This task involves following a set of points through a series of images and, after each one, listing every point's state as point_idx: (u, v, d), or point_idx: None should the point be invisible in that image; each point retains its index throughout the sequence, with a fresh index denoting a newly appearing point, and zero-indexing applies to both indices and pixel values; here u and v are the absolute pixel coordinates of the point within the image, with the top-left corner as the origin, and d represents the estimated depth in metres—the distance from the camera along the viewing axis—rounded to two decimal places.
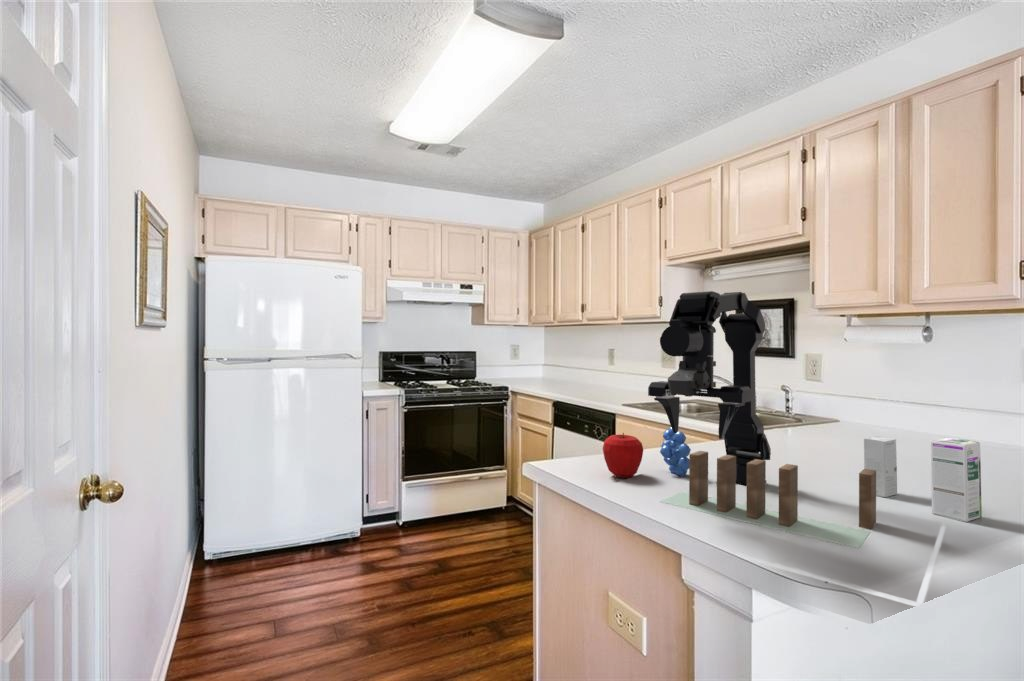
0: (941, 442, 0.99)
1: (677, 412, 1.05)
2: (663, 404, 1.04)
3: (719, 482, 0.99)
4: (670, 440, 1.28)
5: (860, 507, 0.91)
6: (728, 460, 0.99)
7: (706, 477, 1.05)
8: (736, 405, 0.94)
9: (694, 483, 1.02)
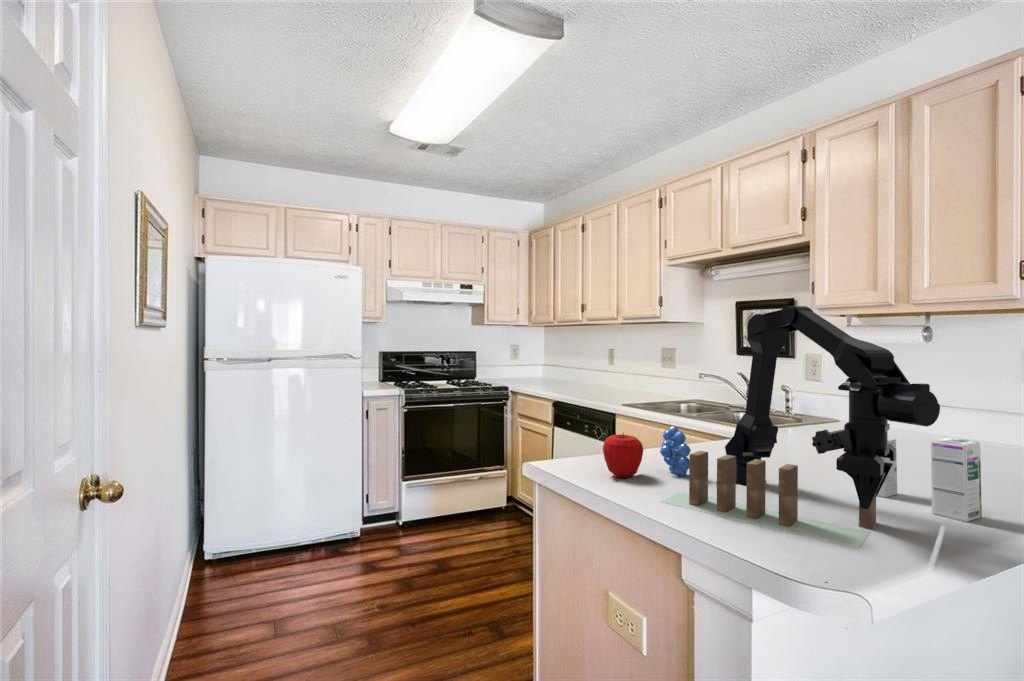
0: (941, 442, 0.99)
1: None
2: None
3: (719, 482, 0.99)
4: (670, 440, 1.28)
5: (860, 507, 0.91)
6: (728, 460, 0.99)
7: (706, 477, 1.05)
8: (849, 471, 0.89)
9: (694, 483, 1.02)
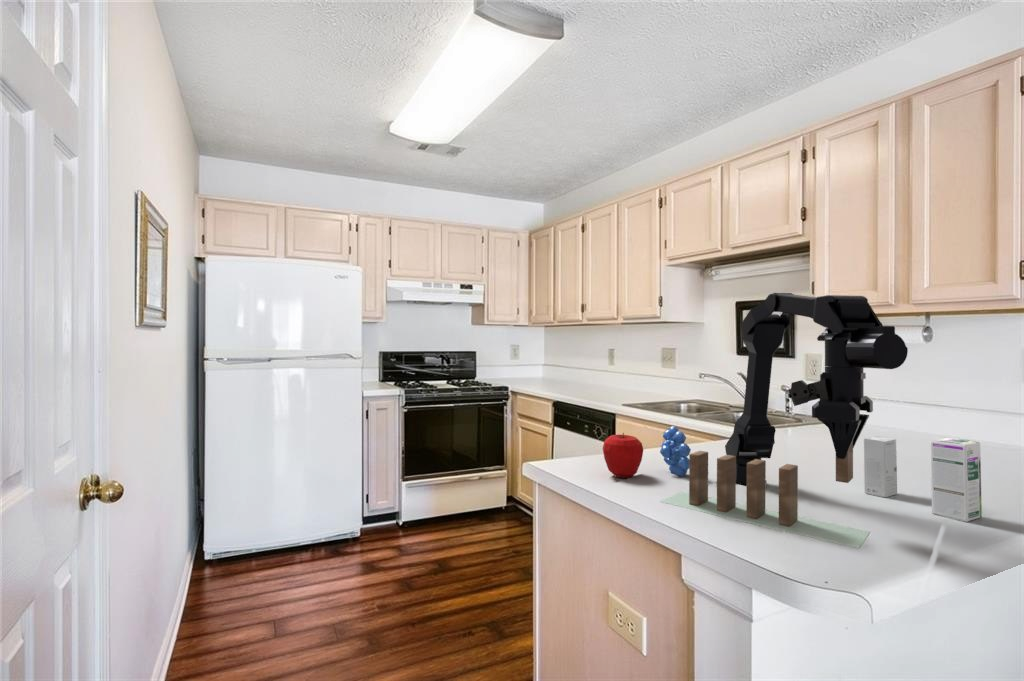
0: (942, 442, 0.99)
1: None
2: None
3: (719, 482, 0.99)
4: (670, 440, 1.28)
5: None
6: (728, 460, 0.99)
7: (706, 477, 1.05)
8: (825, 420, 0.87)
9: (694, 483, 1.02)
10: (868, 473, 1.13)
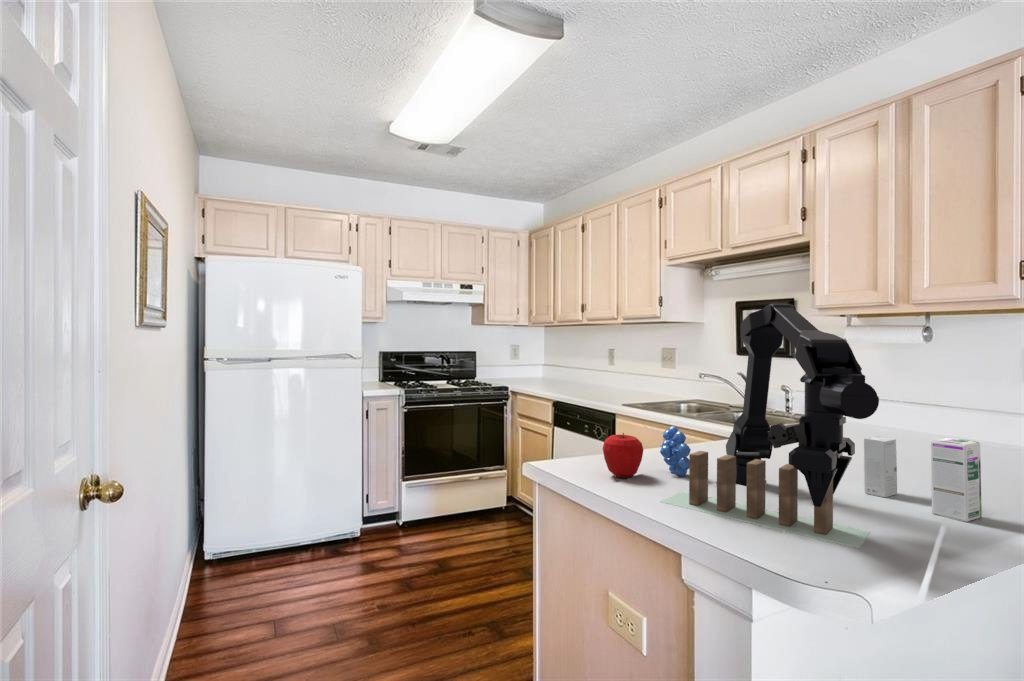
0: (941, 442, 0.99)
1: (836, 475, 0.91)
2: None
3: (719, 482, 0.99)
4: (670, 440, 1.28)
5: (815, 509, 0.88)
6: (728, 460, 0.99)
7: (706, 477, 1.05)
8: (800, 467, 0.85)
9: (694, 483, 1.02)
10: (868, 473, 1.13)
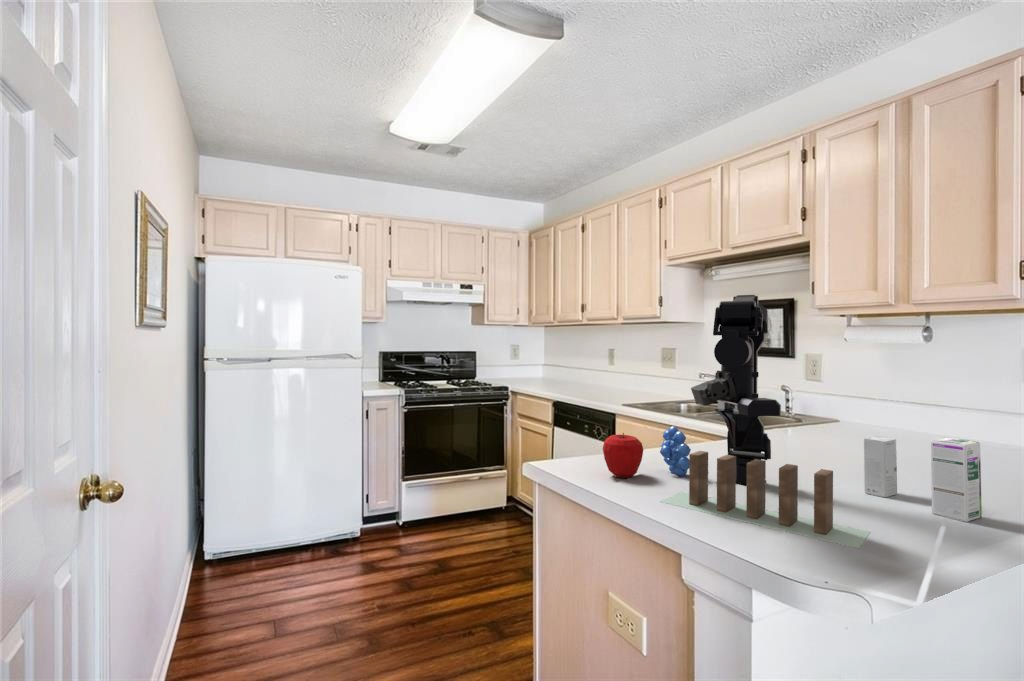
0: (941, 442, 0.99)
1: None
2: (722, 416, 1.01)
3: (719, 482, 0.99)
4: (670, 440, 1.28)
5: (815, 509, 0.88)
6: (728, 460, 0.99)
7: (706, 477, 1.05)
8: (739, 415, 0.95)
9: (694, 483, 1.02)
10: (868, 473, 1.13)
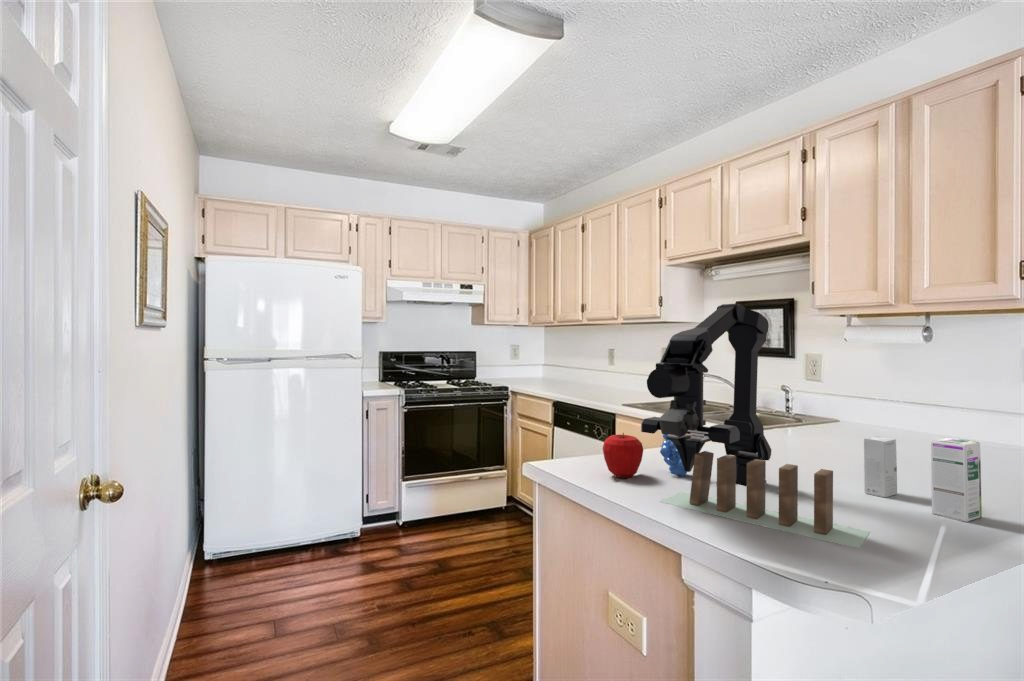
0: (941, 442, 0.99)
1: None
2: (675, 443, 1.06)
3: (719, 482, 0.99)
4: (670, 440, 1.28)
5: (815, 509, 0.88)
6: (728, 460, 0.99)
7: (709, 478, 1.04)
8: (702, 442, 1.02)
9: (696, 483, 1.02)
10: (868, 473, 1.13)
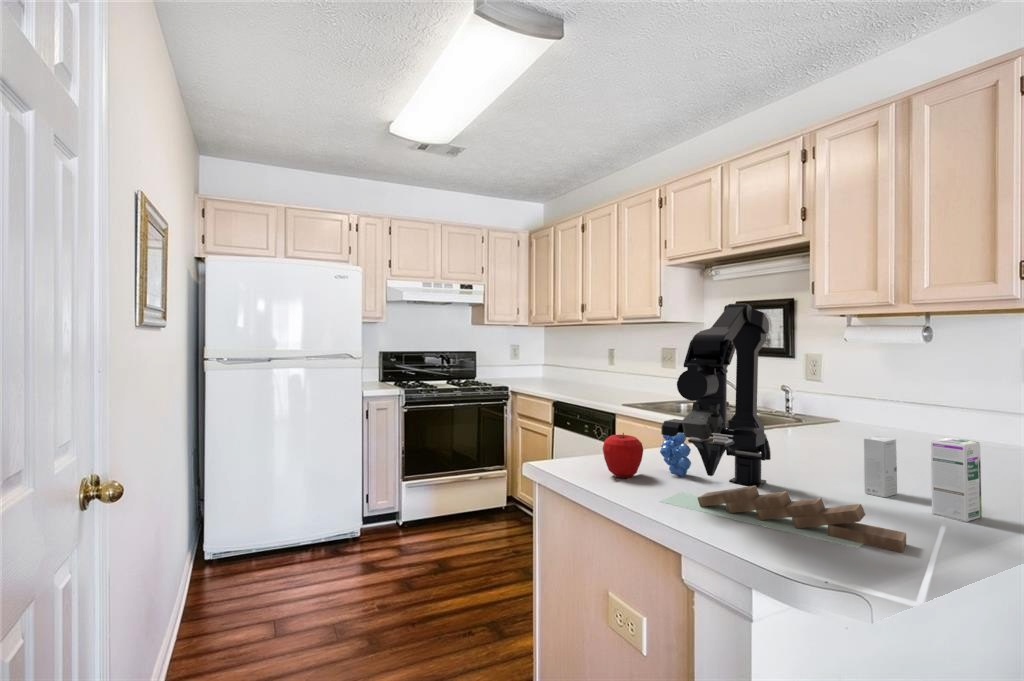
0: (941, 442, 0.99)
1: None
2: (697, 446, 1.02)
3: (755, 502, 0.94)
4: (670, 440, 1.28)
5: (856, 532, 0.84)
6: (783, 505, 0.92)
7: None
8: (726, 445, 0.99)
9: (719, 499, 0.99)
10: (868, 473, 1.13)
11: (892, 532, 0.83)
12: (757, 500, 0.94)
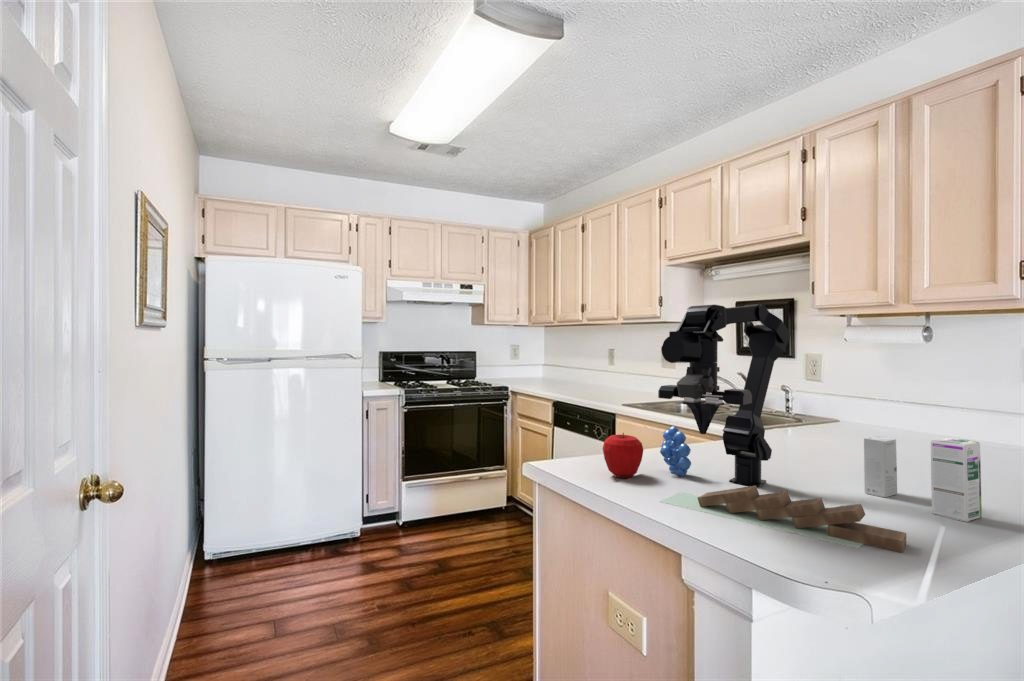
0: (941, 442, 0.99)
1: None
2: (691, 407, 1.13)
3: (755, 502, 0.94)
4: (670, 440, 1.28)
5: (856, 532, 0.84)
6: (783, 505, 0.92)
7: None
8: (716, 405, 1.09)
9: (719, 499, 0.99)
10: (868, 473, 1.13)
11: (892, 532, 0.83)
12: (757, 500, 0.94)
